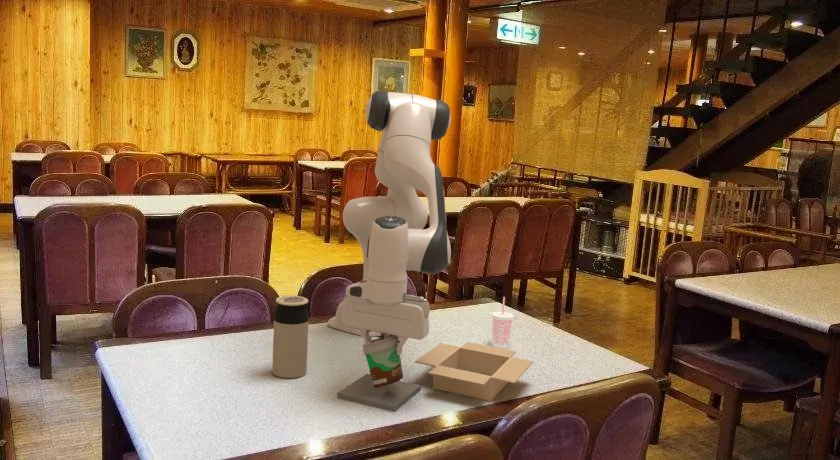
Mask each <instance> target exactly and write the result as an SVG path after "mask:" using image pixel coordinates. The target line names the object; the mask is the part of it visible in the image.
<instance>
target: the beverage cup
mask: <svg viewBox="0 0 840 460" xmlns="http://www.w3.org/2000/svg"><path fill="white" fill-rule="evenodd" d="M505 302H506V297H505V296H503V299H502V308H501V309H502V311H494V312H491V318H492V324H491V325H492V327H491V330H492V331H491V334H492V335H491V346H492V347H497V348H502V349H508V347H509V343H510V338H511V337H510V336H511V330H512V325H513V324H512V322H513V319H514V315H515V314H513V313H511V312H507V311H505Z"/></svg>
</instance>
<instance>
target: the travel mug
mask: <svg viewBox="0 0 840 460" xmlns="http://www.w3.org/2000/svg"><path fill="white" fill-rule="evenodd" d="M275 302H276V306H277V308H276V310H275V311H274V313H273V314H274V315H273V340H272V342H273V343H272V344H273V345H272V346H273V347H272V368H271V369H272V374H273V375H274V376H276V377H279V378H282V379H297V378H300V377H303V376H304V375H305V374H307V368H308V367H307V366H308V363H307V362H308V343H309V341H308V340H309V338H308V337H309V322H310V321H309V319H310V315H309V314H310V312H309V311H308V309H307V305H308V303H309V299H308V298H307V297H304V296H299V295H283V296H279V297H276V299H275Z"/></svg>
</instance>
